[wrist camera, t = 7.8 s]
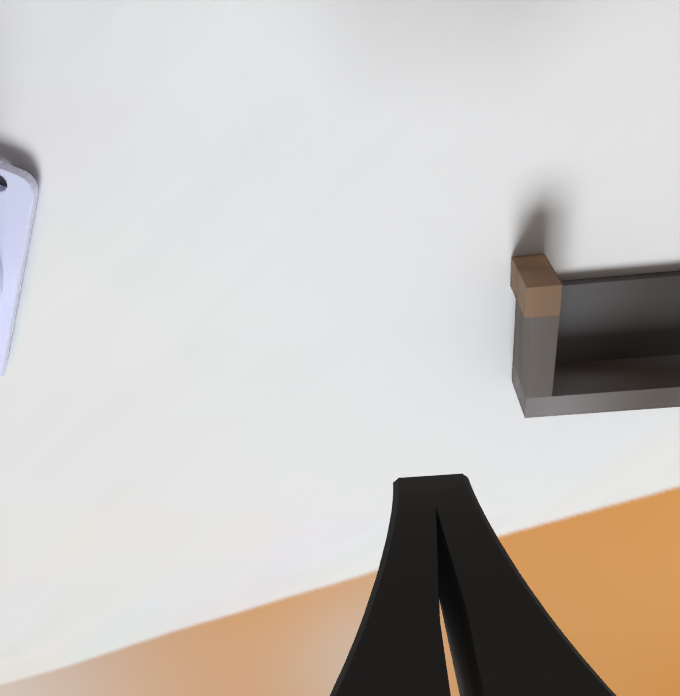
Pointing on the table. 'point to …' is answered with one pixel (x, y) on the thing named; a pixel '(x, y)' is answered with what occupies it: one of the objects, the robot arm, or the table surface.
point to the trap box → (594, 341)
